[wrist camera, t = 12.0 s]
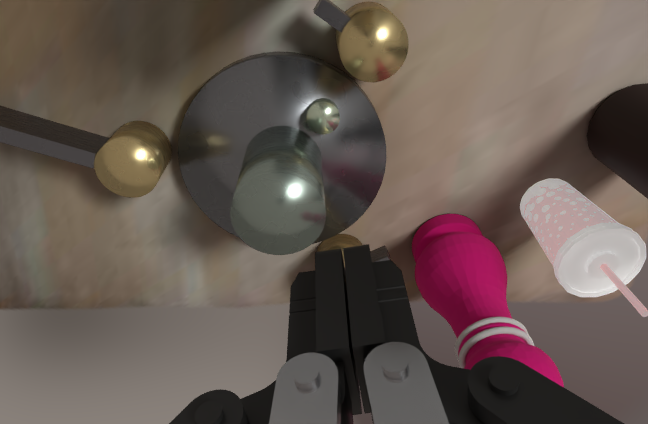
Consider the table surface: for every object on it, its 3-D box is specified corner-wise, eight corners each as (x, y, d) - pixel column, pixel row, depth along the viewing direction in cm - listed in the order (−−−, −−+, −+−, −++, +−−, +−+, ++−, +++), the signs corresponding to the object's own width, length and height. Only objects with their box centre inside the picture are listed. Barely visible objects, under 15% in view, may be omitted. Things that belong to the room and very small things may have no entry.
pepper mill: (392, 261, 44) (448, 475, 27) (428, 197, 41) (519, 394, 23) (460, 282, 45) (554, 496, 28) (500, 222, 42) (635, 423, 25)
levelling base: (203, -46, 31) (166, -37, 22) (468, 28, 34) (521, 60, 25) (170, 242, 42) (137, 318, 34) (370, 279, 45) (385, 357, 37)
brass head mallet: (-22, 126, 36) (-57, 147, 32) (-22, 70, 34) (-60, 86, 30) (166, 179, 38) (152, 205, 35) (176, 131, 36) (163, 153, 33)
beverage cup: (496, 209, 41) (574, 324, 29) (550, 156, 39) (659, 258, 27) (542, 242, 43) (634, 362, 31) (597, 193, 41) (718, 303, 29)
